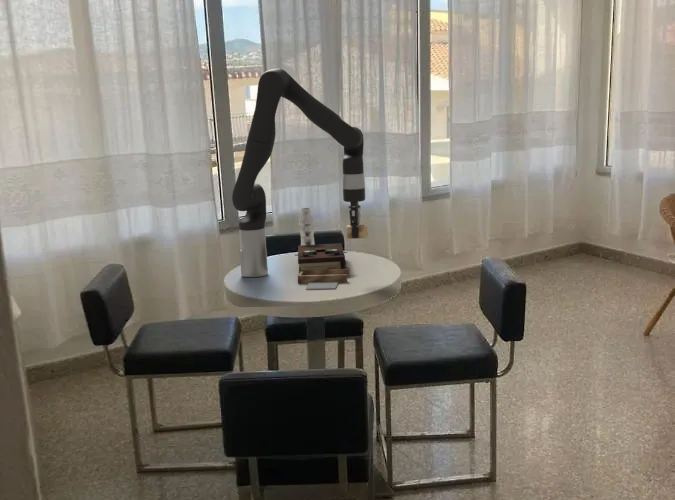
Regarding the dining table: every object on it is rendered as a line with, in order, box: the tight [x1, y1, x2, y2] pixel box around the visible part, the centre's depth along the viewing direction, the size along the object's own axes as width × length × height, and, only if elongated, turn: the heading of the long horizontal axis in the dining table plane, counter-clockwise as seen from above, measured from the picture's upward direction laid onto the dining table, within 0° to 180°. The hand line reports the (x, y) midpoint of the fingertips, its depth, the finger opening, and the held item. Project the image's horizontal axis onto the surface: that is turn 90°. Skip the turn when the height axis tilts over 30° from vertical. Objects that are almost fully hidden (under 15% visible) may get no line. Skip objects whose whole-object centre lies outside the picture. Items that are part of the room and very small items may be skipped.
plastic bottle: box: [298, 207, 316, 246], centre depth 282 cm, size 6×7×20 cm
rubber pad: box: [305, 282, 339, 291], centre depth 239 cm, size 10×8×1 cm
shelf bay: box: [297, 268, 350, 284], centre depth 248 cm, size 17×9×2 cm, turn 84°
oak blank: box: [346, 224, 369, 240], centre depth 244 cm, size 7×4×4 cm, turn 85°
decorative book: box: [294, 242, 348, 274], centre depth 267 cm, size 19×8×30 cm
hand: (355, 236), depth 244 cm, fingers closed on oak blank, 4 cm apart
